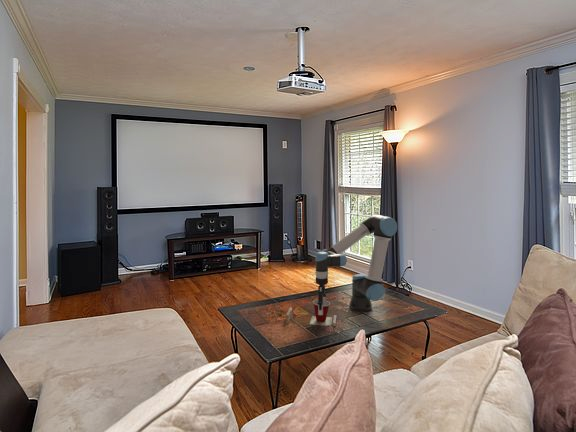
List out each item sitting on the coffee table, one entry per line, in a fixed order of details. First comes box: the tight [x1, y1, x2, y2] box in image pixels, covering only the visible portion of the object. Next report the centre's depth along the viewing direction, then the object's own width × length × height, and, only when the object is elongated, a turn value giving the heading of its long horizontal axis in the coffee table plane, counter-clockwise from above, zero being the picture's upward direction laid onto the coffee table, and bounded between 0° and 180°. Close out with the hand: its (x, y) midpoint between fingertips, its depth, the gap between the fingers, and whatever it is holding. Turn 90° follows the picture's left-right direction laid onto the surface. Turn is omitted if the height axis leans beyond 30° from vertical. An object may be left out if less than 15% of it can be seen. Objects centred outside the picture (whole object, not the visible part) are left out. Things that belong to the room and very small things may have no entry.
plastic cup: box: [312, 299, 331, 322], centre depth 235 cm, size 11×11×12 cm
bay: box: [285, 307, 337, 327], centre depth 236 cm, size 30×13×5 cm, turn 80°
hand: (321, 310), depth 235 cm, fingers open, 13 cm apart
